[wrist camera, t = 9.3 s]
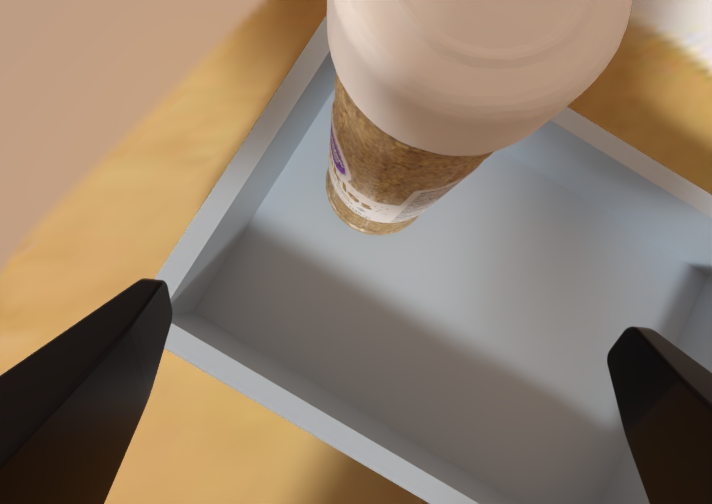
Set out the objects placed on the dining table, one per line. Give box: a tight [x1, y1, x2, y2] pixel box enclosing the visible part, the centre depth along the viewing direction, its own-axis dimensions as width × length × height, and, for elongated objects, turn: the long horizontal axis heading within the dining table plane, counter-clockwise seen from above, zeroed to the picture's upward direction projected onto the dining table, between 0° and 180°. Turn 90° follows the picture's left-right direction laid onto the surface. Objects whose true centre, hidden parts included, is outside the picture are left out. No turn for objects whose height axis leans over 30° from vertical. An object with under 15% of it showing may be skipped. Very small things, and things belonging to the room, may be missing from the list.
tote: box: [155, 14, 712, 504], centre depth 18 cm, size 15×21×4 cm
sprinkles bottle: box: [326, 0, 633, 235], centre depth 13 cm, size 5×5×13 cm
